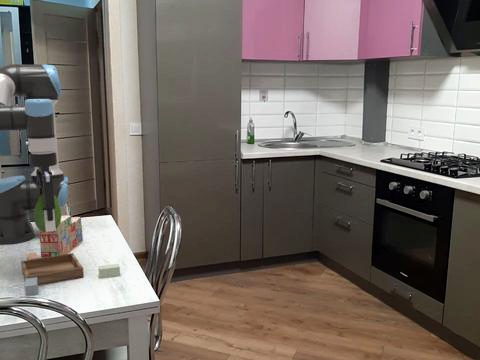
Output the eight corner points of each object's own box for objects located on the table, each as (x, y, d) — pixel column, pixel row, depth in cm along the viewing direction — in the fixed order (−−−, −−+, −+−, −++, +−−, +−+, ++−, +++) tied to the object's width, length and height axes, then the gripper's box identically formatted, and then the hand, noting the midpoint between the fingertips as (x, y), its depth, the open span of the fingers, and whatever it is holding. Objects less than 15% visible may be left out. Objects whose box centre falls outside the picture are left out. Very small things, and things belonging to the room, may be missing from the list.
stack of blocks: (66, 240, 184) (64, 208, 182) (83, 241, 184) (81, 209, 182) (41, 260, 163) (38, 224, 161) (59, 260, 163) (57, 224, 161)
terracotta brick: (27, 262, 161) (26, 254, 161) (36, 261, 163) (36, 252, 162) (29, 268, 156) (28, 259, 156) (39, 266, 158) (38, 257, 157)
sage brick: (99, 279, 147) (99, 269, 147) (98, 275, 150) (98, 266, 150) (120, 276, 149) (119, 267, 149) (119, 272, 152) (118, 263, 151)
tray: (21, 270, 154) (21, 261, 154) (73, 261, 162) (72, 253, 161) (27, 287, 141) (26, 277, 140) (83, 277, 148) (83, 267, 148)
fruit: (68, 230, 149) (65, 191, 147) (44, 236, 143) (41, 196, 141) (52, 226, 154) (49, 188, 152) (29, 232, 148) (25, 193, 146)
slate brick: (26, 288, 141) (25, 278, 140) (38, 287, 142) (37, 277, 141) (25, 296, 135) (24, 286, 134) (37, 295, 136) (36, 284, 136)
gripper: (24, 149, 151) (30, 221, 155) (33, 157, 133) (39, 238, 138) (50, 148, 155) (55, 218, 159) (62, 155, 137) (67, 234, 141)
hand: (48, 227), depth 148 cm, fingers closed on fruit, 8 cm apart
